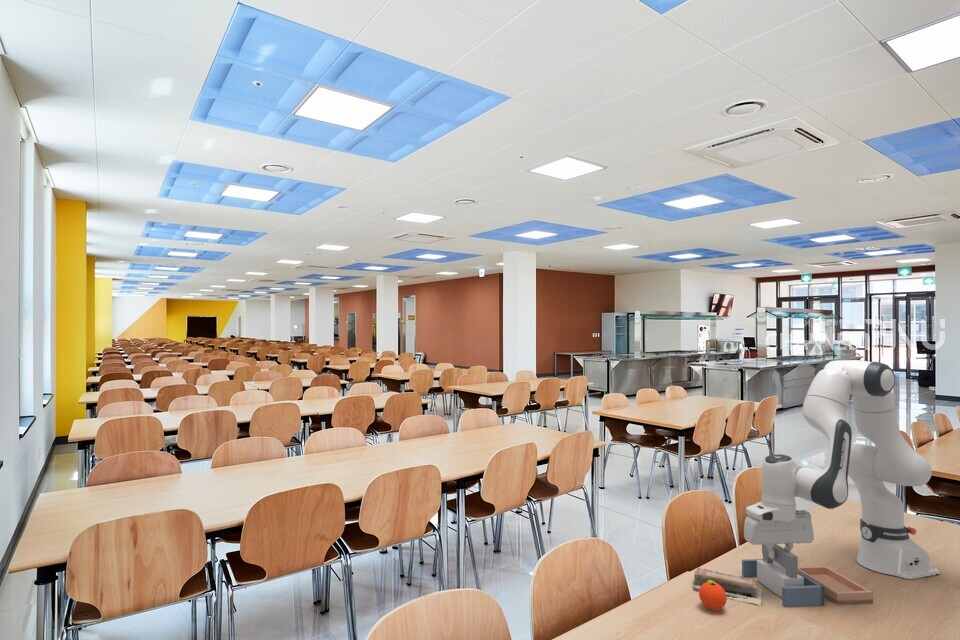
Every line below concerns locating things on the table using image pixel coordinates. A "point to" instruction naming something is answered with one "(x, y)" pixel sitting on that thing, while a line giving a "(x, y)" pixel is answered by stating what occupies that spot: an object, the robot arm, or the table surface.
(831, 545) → the table surface
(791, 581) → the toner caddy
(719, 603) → the clementine
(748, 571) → the slate bay
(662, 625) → the table surface
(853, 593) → the terracotta tray
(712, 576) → the packaged product
